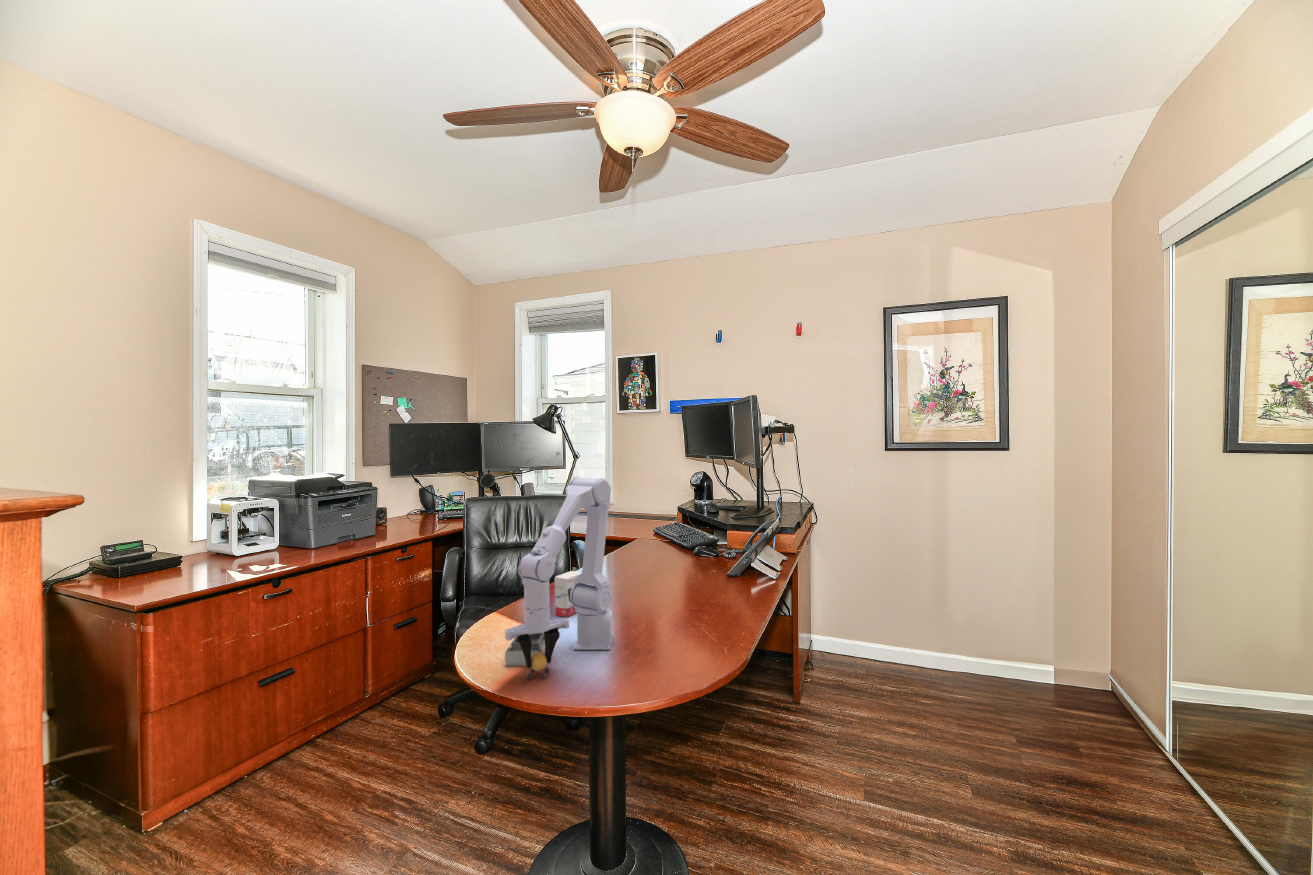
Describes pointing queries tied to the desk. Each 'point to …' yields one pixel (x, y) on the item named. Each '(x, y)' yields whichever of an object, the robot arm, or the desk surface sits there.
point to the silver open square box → (515, 652)
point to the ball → (538, 661)
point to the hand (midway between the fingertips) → (538, 663)
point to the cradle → (541, 675)
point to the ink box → (564, 593)
